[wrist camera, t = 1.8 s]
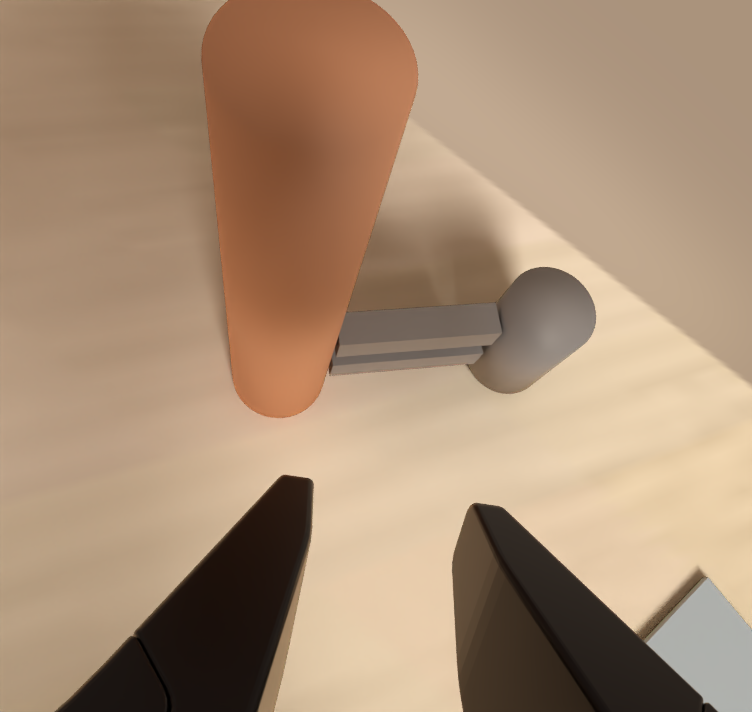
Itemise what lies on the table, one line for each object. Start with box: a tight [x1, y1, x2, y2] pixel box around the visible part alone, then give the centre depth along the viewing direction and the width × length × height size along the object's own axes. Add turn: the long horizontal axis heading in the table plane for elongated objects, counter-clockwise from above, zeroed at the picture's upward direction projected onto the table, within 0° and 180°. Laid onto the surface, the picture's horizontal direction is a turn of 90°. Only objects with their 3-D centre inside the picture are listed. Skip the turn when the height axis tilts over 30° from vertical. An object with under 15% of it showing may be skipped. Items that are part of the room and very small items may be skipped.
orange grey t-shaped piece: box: [202, 0, 596, 418], centre depth 17 cm, size 11×3×14 cm, turn 98°
